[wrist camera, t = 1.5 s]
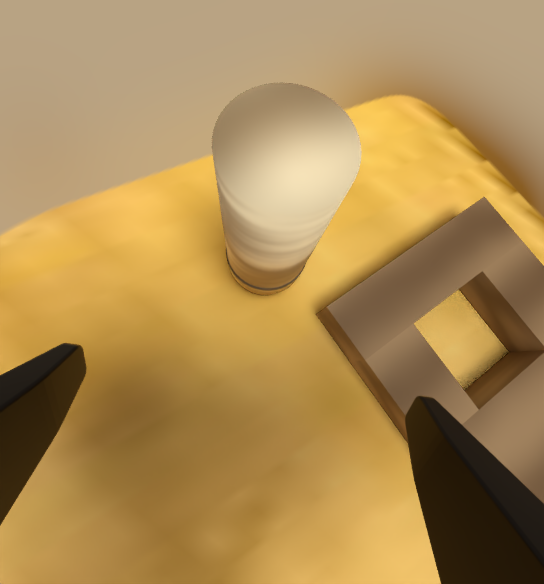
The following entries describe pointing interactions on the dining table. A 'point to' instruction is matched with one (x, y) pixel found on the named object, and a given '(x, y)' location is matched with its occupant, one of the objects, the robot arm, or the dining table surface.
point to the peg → (280, 179)
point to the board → (421, 357)
